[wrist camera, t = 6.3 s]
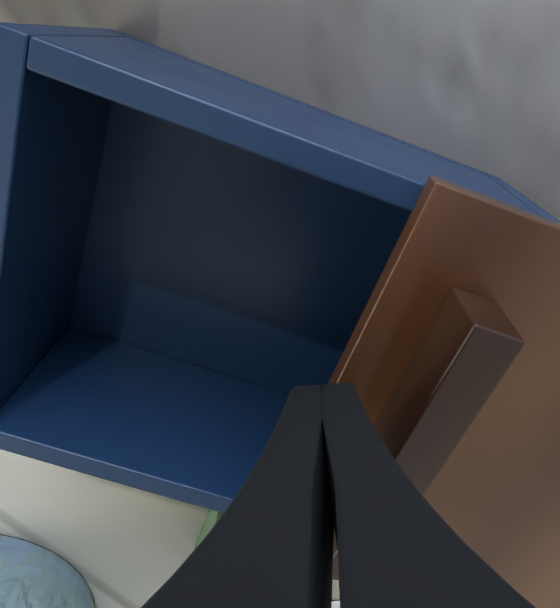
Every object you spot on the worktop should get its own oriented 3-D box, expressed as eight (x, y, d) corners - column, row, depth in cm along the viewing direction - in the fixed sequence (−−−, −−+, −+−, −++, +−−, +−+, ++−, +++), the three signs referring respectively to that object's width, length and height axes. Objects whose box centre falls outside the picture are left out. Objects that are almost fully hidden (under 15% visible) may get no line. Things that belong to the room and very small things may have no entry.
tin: (500, 178, 16) (600, 250, 10) (366, 422, 20) (386, 561, 15) (110, 28, 14) (-7, 20, 9) (57, 324, 19) (-43, 438, 13)
